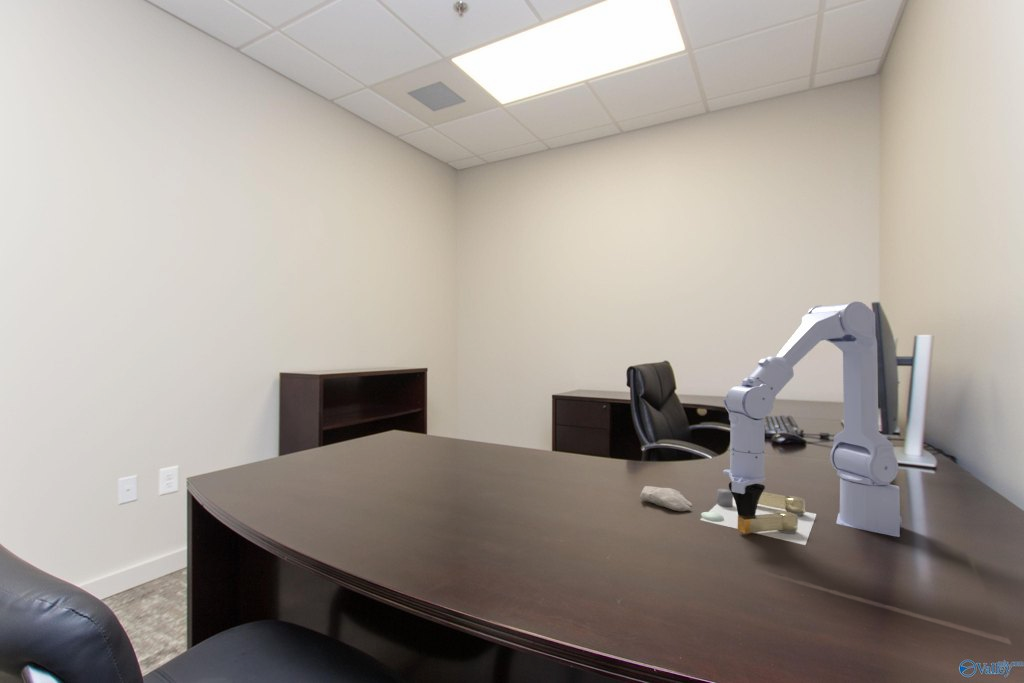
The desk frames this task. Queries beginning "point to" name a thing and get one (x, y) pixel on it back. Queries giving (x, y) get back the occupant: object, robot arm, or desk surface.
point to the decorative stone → (665, 498)
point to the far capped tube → (783, 502)
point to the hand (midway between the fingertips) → (746, 523)
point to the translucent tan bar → (768, 522)
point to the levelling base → (728, 514)
